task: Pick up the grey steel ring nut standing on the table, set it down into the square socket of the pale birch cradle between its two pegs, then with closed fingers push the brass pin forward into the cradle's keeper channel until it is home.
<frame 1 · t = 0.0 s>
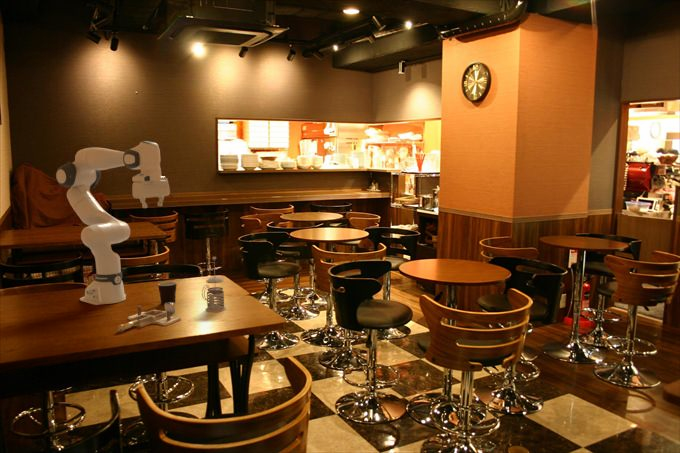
hand: (152, 206, 256), 48 cm above the table, fingers open, 8 cm apart
pin: (128, 325, 231), point 2 cm above the table, slide at 0.0 cm
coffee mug: (169, 303, 271), on the table
french press: (214, 309, 260), on the table
cradle: (154, 319, 244), on the table
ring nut: (170, 313, 254), on the table
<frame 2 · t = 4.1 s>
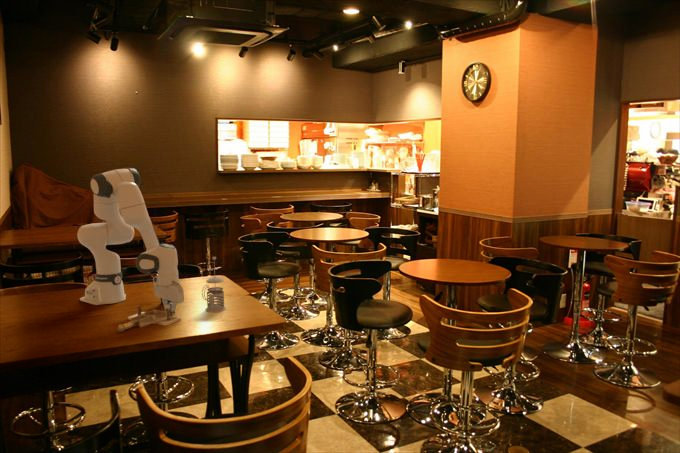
hand: (169, 309, 254), 2 cm above the table, fingers closed on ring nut, 4 cm apart
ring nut: (170, 312, 254), on the table, touching gripper
everything else where it was.
when the fingers open (4 cm above the table, at t = 9.3 s): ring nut stays where it is, resting on cradle.
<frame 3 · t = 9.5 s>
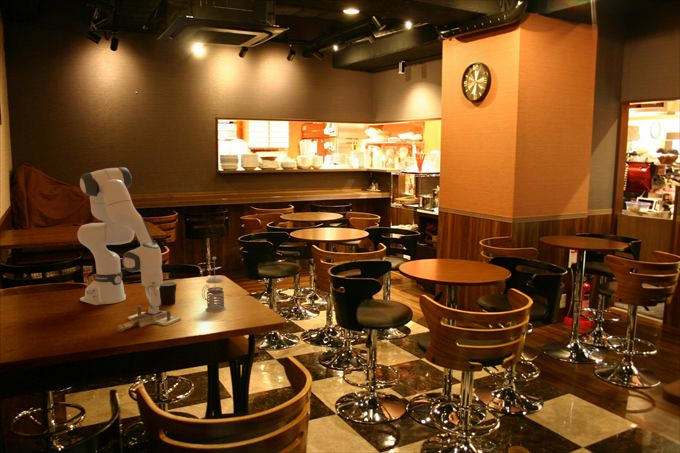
hand: (153, 311, 244), 4 cm above the table, fingers open, 6 cm apart
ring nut: (153, 317, 244), point 1 cm above the table, touching cradle
everything else where it was.
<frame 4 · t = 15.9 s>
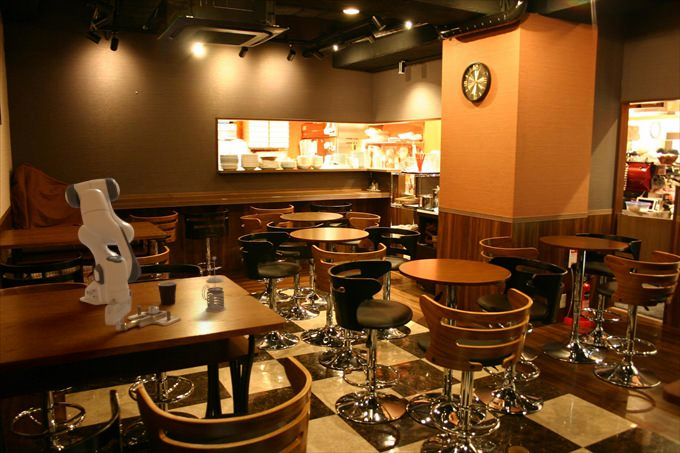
hand: (119, 328, 227), 1 cm above the table, fingers closed
pin: (131, 324, 232), point 2 cm above the table, slide at 1.5 cm, touching gripper
everything else where it was.
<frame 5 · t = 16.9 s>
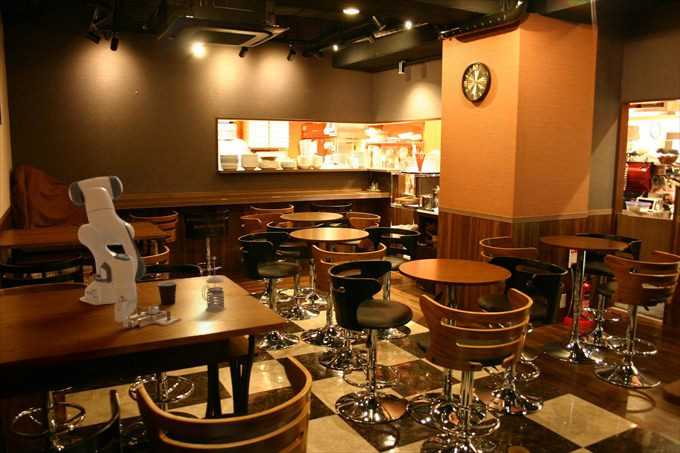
hand: (126, 326, 230), 2 cm above the table, fingers closed
pin: (138, 321, 236), point 2 cm above the table, slide at 5.3 cm, touching gripper
everything else where it was.
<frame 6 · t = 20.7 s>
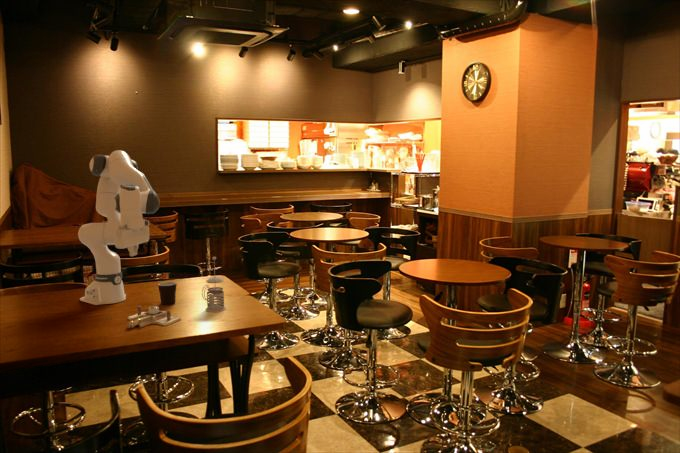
hand: (133, 255, 238), 29 cm above the table, fingers closed
pin: (138, 321, 236), point 2 cm above the table, slide at 5.3 cm
everything else where it was.
at the end: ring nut 0.1 cm off-centre on the cradle, point 1.0 cm above the cradle's base; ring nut tilted 0°; pin slide at 5.3 cm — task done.
